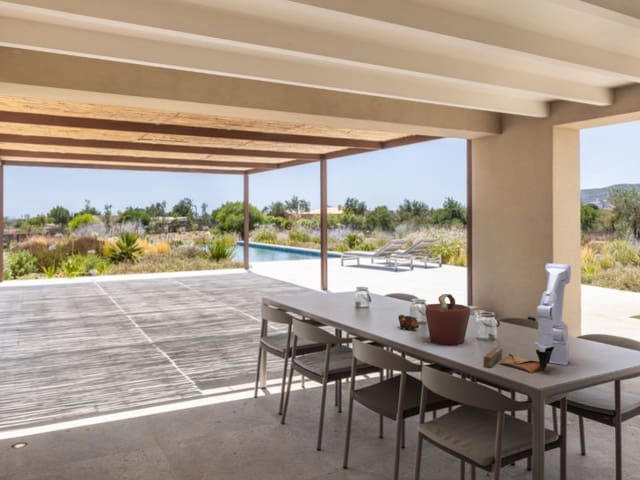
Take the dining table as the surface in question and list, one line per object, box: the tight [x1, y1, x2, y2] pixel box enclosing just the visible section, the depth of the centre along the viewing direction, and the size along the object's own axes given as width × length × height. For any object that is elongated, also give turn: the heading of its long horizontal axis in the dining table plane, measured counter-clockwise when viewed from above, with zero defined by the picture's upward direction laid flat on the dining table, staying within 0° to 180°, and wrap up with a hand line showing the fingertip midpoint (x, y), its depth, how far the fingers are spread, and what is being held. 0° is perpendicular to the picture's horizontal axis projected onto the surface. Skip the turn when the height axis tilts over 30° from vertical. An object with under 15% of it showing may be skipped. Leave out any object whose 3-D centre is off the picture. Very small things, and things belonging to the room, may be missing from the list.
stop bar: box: [483, 346, 503, 369], centre depth 230 cm, size 3×20×4 cm, turn 148°
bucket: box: [425, 293, 471, 347], centre depth 269 cm, size 24×22×25 cm
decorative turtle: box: [398, 314, 420, 331], centre depth 302 cm, size 10×15×8 cm, turn 41°
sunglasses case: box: [498, 353, 546, 374], centre depth 223 cm, size 18×7×7 cm
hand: (544, 365), depth 219 cm, fingers open, 7 cm apart
